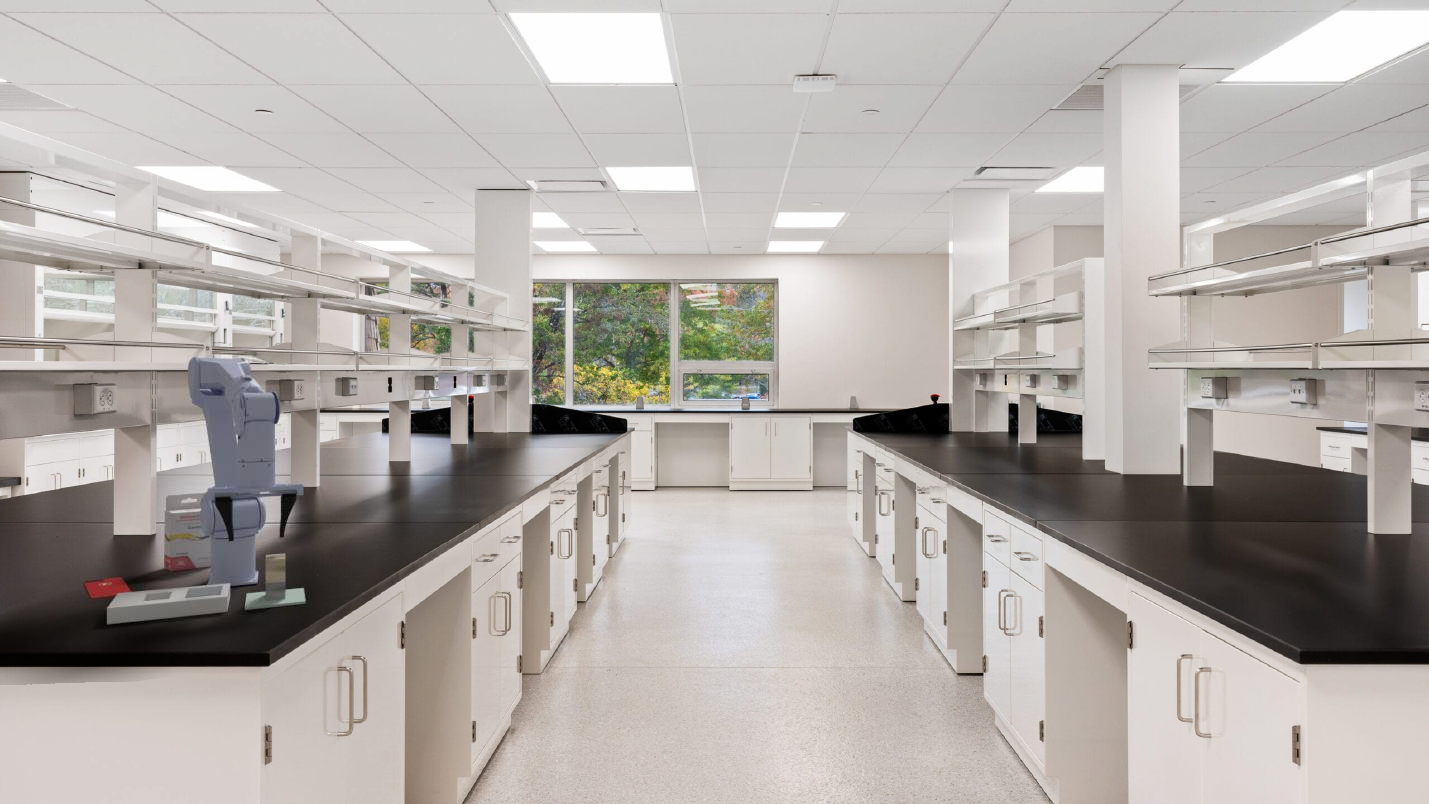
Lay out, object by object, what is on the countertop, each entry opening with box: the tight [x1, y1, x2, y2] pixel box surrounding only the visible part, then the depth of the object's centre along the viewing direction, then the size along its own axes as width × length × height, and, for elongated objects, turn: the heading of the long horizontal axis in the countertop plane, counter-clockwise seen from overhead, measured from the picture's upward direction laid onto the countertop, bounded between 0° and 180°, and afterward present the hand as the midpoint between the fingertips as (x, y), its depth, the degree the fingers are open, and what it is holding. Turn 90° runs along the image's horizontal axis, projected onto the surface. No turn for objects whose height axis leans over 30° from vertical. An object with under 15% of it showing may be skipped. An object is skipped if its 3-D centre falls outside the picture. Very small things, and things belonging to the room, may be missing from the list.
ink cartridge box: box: [163, 492, 211, 572], centre depth 165 cm, size 9×5×15 cm, turn 137°
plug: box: [265, 553, 286, 601], centre depth 141 cm, size 4×3×7 cm, turn 28°
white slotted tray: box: [106, 583, 231, 625], centre depth 134 cm, size 10×16×3 cm, turn 118°
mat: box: [244, 587, 306, 611], centre depth 141 cm, size 10×9×1 cm
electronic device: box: [83, 577, 132, 600], centre depth 148 cm, size 6×1×15 cm
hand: (256, 538), depth 142 cm, fingers open, 7 cm apart
